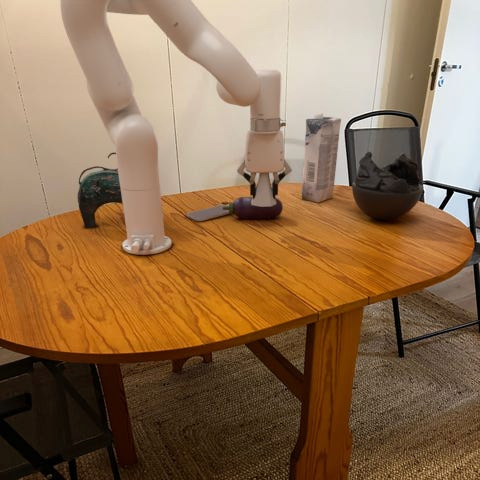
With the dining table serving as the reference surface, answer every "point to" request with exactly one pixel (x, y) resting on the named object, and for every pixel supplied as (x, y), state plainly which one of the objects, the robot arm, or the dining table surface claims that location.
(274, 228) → the dining table surface
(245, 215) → the aubergine
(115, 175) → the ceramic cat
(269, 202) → the flask
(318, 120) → the juice carton
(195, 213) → the smartphone
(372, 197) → the bowl of black rocks
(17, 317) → the dining table surface
